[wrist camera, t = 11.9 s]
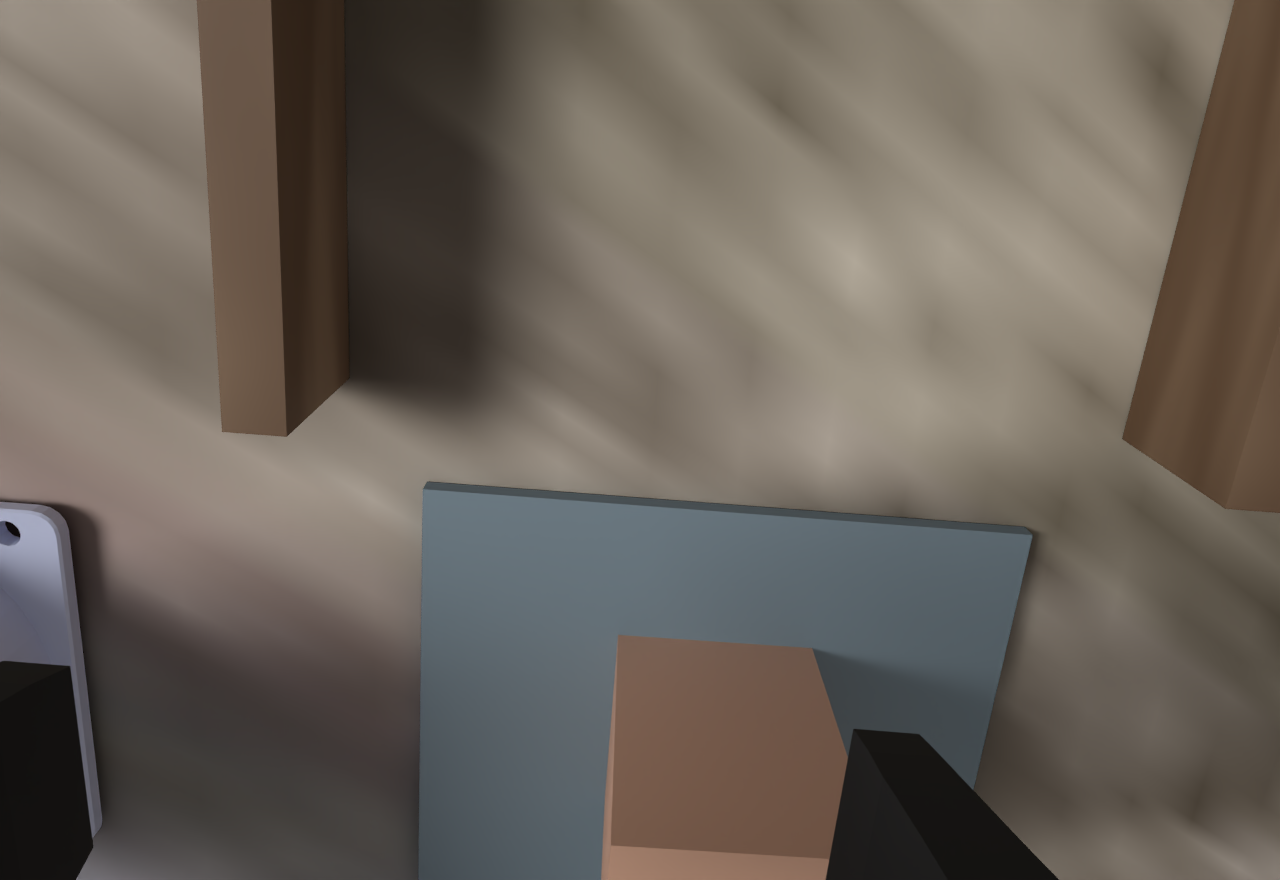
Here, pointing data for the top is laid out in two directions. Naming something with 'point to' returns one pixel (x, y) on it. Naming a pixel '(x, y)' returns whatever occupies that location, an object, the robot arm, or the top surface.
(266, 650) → the top surface
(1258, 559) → the top surface
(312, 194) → the walnut crate
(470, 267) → the top surface
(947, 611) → the slate mat
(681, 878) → the terracotta block
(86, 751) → the robot arm
